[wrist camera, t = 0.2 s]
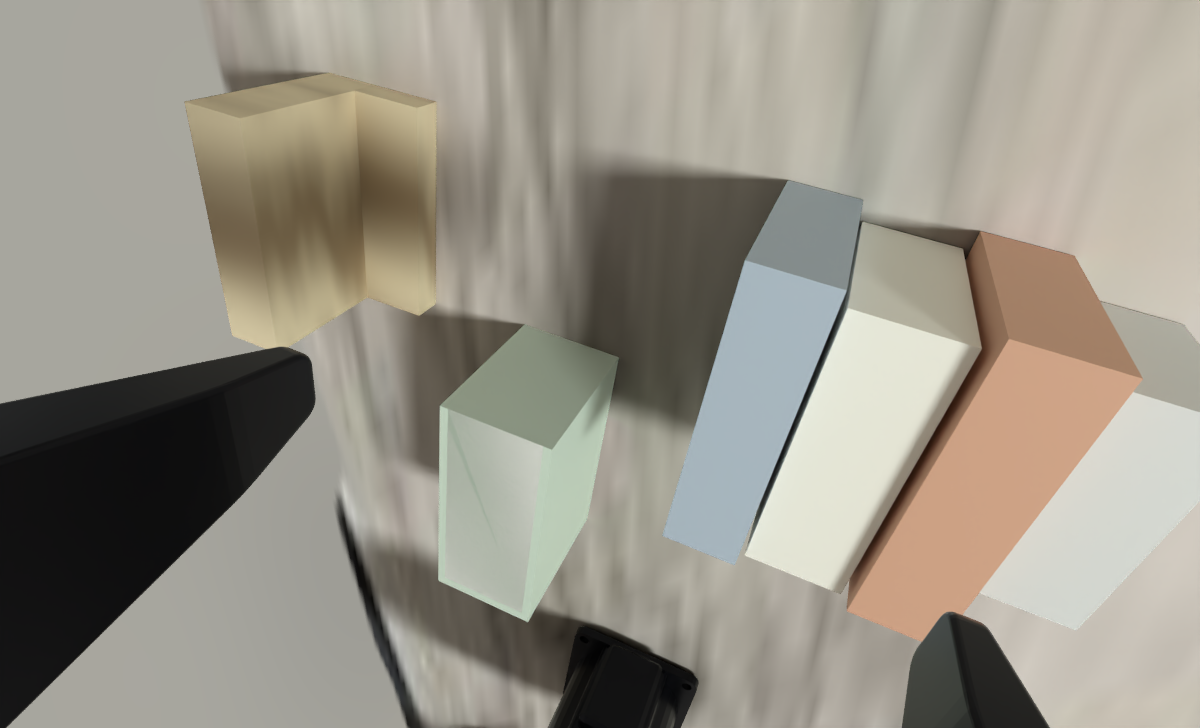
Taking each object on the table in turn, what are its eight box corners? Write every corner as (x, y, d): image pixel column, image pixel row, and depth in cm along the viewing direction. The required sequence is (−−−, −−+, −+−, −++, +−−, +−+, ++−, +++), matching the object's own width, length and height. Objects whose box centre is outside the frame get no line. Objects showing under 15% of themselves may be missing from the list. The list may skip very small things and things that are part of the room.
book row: (1029, 527, 22) (1066, 700, 17) (713, 414, 25) (662, 535, 19) (1209, 291, 17) (1340, 437, 12) (788, 180, 19) (744, 260, 14)
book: (587, 517, 30) (527, 622, 25) (510, 485, 31) (438, 580, 26) (620, 356, 25) (552, 449, 20) (525, 323, 26) (439, 405, 21)
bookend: (436, 303, 27) (336, 376, 22) (346, 271, 28) (232, 335, 23) (437, 101, 23) (311, 140, 18) (330, 72, 24) (184, 101, 19)
